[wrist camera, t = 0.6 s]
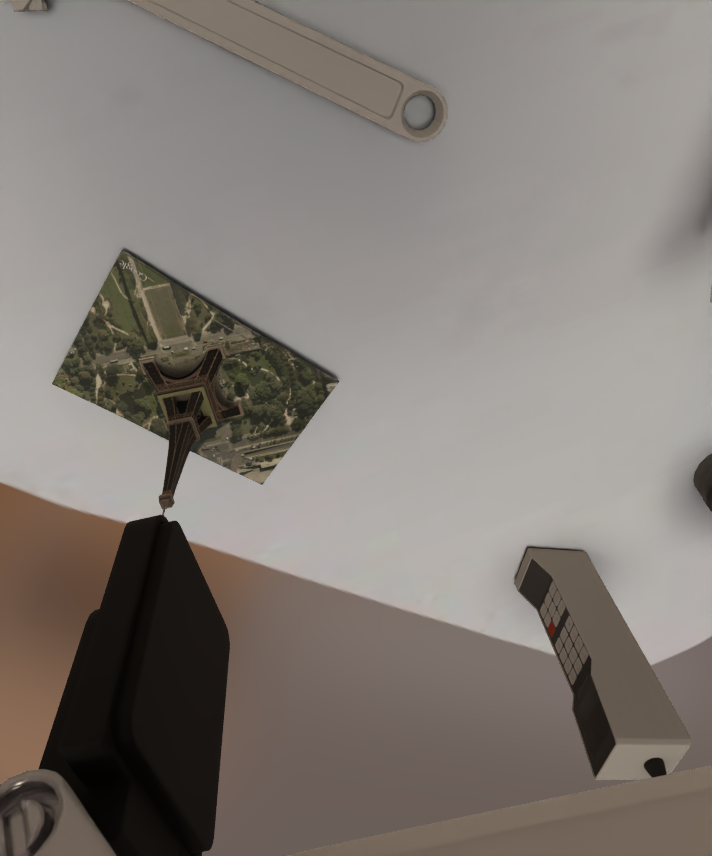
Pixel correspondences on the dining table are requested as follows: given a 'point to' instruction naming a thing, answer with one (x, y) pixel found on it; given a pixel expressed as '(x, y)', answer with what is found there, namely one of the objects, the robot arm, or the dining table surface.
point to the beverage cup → (705, 480)
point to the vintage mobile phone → (603, 669)
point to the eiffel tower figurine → (190, 375)
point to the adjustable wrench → (299, 58)
